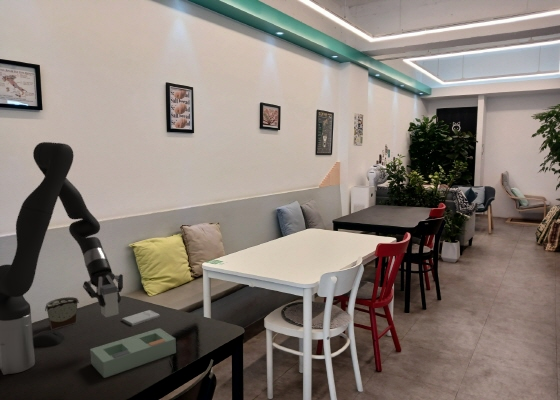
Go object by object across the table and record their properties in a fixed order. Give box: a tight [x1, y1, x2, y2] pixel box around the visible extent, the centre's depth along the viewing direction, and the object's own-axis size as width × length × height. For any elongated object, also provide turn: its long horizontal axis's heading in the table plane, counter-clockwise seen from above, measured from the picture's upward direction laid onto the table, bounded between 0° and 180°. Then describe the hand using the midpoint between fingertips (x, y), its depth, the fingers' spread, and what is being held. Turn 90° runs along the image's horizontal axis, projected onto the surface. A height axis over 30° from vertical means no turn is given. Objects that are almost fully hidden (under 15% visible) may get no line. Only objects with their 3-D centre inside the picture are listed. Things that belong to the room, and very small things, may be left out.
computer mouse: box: [33, 329, 65, 347], centre depth 155 cm, size 6×11×4 cm, turn 93°
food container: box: [44, 296, 80, 330], centre depth 170 cm, size 12×6×10 cm, turn 134°
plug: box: [100, 284, 119, 318], centre depth 149 cm, size 4×4×10 cm
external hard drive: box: [121, 309, 161, 327], centre depth 176 cm, size 2×8×12 cm
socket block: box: [89, 327, 177, 379], centre depth 141 cm, size 24×12×5 cm, turn 132°
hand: (111, 303), depth 147 cm, fingers closed on plug, 4 cm apart
